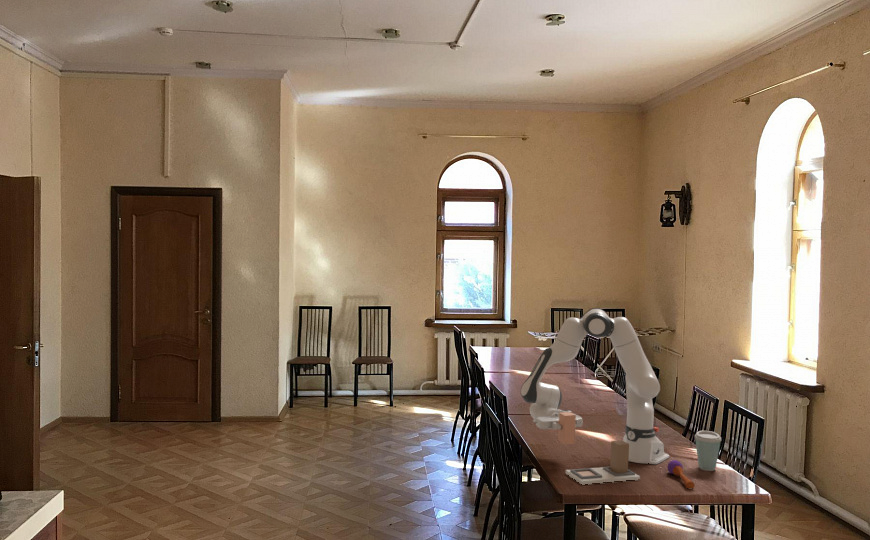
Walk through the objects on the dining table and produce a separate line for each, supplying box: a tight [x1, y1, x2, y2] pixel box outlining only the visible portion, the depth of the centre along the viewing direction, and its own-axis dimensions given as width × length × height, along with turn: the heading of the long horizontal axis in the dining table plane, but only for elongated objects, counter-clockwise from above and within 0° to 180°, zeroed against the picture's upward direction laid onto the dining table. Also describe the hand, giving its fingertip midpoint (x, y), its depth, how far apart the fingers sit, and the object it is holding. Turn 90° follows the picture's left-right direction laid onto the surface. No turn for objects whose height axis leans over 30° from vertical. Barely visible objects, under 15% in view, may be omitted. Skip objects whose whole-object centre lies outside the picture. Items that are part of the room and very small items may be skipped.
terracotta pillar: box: [557, 411, 577, 445], centre depth 291 cm, size 5×5×12 cm
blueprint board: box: [565, 439, 641, 486], centre depth 278 cm, size 26×13×14 cm, turn 108°
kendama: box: [667, 459, 696, 489], centre depth 278 cm, size 6×6×20 cm
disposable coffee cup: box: [694, 430, 722, 472], centre depth 293 cm, size 11×11×15 cm
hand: (568, 427), depth 290 cm, fingers closed on terracotta pillar, 5 cm apart
